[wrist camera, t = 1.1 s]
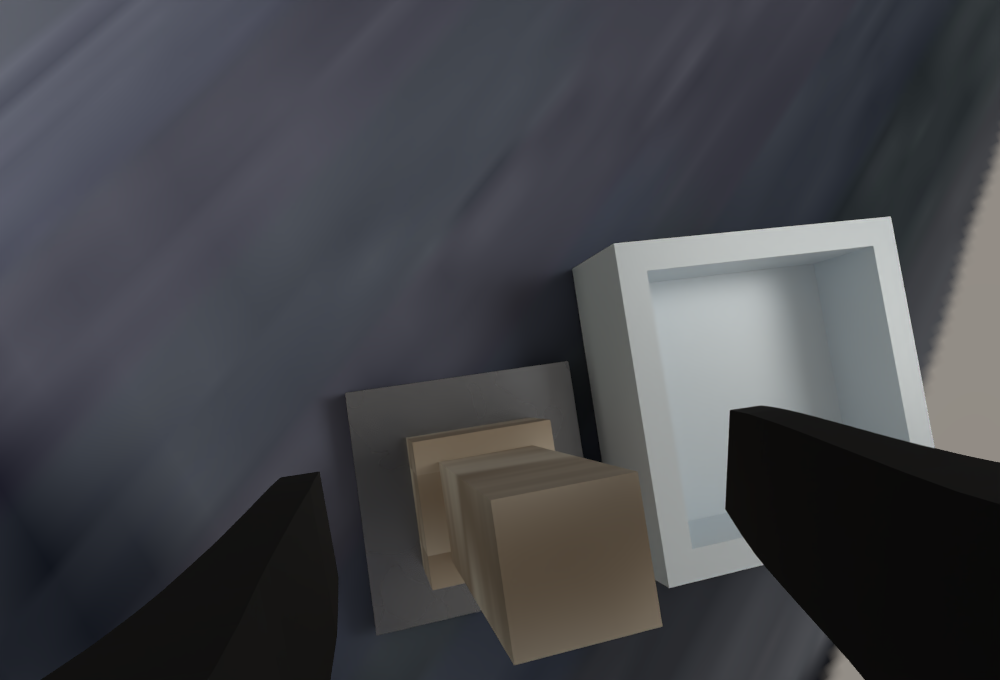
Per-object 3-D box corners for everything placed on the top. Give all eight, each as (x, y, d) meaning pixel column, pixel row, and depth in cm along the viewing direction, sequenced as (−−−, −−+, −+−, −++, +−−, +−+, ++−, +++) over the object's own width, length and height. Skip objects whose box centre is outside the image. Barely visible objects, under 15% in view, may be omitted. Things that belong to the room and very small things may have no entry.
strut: (547, 541, 22) (700, 654, 12) (423, 568, 21) (482, 714, 11) (528, 417, 22) (664, 430, 12) (406, 437, 21) (448, 469, 11)
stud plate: (594, 575, 23) (627, 600, 20) (375, 626, 21) (378, 661, 18) (561, 362, 23) (589, 356, 21) (345, 393, 22) (343, 392, 19)
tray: (859, 501, 26) (948, 519, 22) (616, 556, 23) (669, 588, 19) (812, 243, 26) (890, 216, 23) (571, 269, 24) (614, 243, 20)
